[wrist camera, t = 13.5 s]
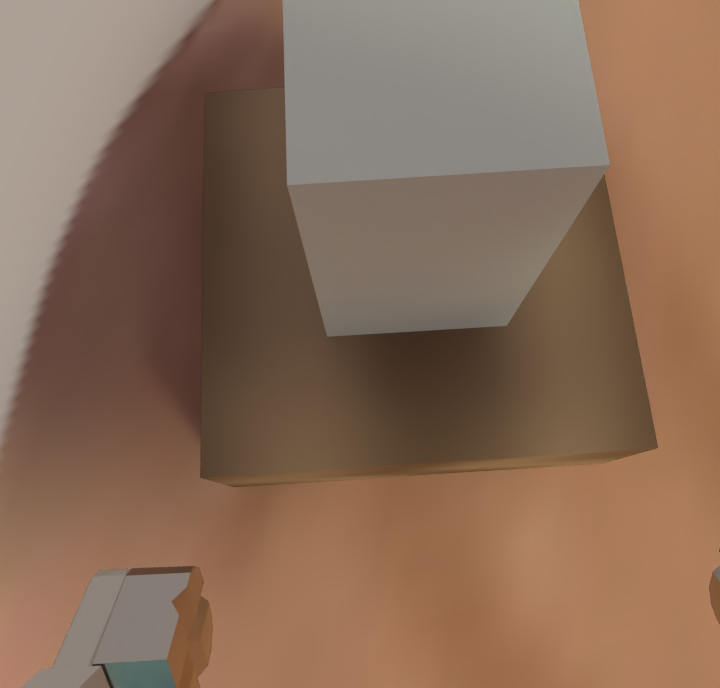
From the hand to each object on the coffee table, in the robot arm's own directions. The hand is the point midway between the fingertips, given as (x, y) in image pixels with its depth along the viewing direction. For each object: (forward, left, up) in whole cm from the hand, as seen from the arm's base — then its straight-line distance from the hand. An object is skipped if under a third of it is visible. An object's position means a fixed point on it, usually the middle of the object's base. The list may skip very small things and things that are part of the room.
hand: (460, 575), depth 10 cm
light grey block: (0, -8, -6) cm, 10 cm away
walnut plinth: (0, -8, -10) cm, 13 cm away
